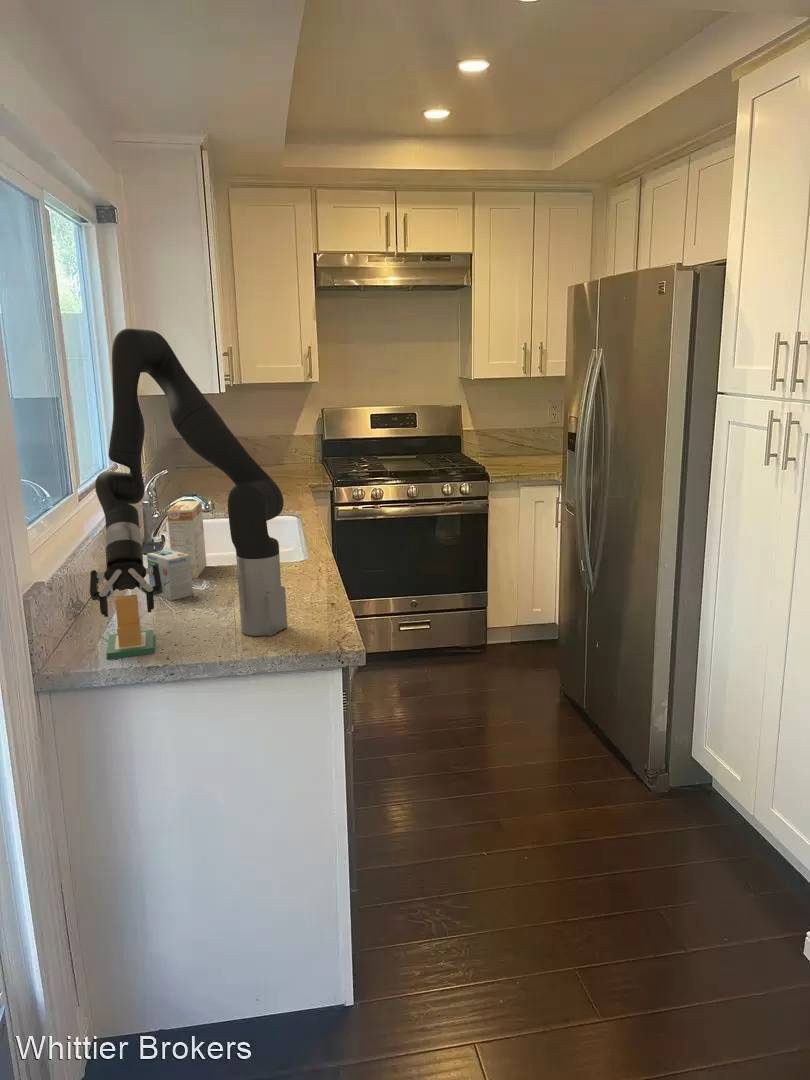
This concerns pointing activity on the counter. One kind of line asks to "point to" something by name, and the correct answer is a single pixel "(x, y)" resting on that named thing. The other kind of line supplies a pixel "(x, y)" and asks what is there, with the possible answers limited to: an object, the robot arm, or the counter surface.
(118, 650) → the board
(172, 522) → the coffeecake box
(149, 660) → the counter surface
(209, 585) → the counter surface
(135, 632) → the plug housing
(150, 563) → the light bulb box
